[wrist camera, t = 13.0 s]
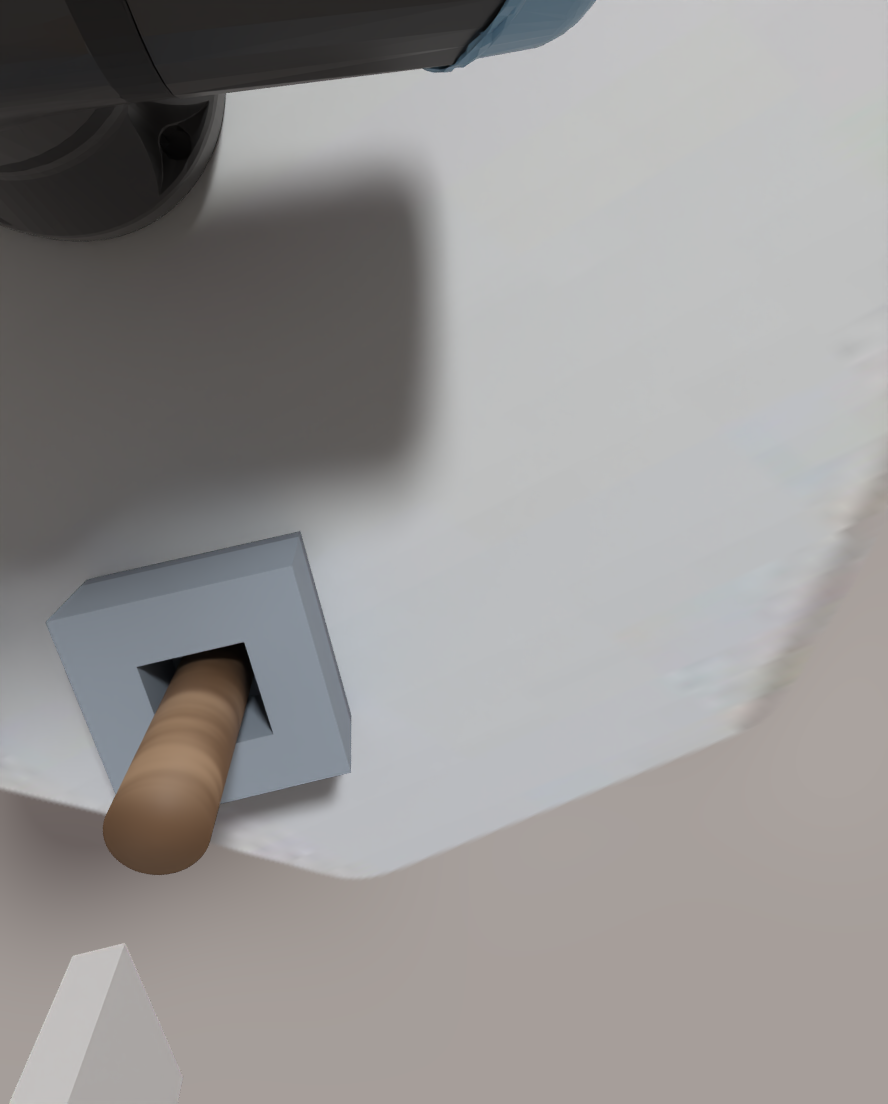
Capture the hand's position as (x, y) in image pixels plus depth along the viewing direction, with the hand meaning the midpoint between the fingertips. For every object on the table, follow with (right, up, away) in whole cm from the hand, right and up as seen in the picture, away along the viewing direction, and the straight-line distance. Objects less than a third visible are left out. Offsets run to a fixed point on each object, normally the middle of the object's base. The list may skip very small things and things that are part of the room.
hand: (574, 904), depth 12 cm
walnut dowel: (-15, -1, +32) cm, 35 cm away
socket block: (-15, 0, +33) cm, 36 cm away
